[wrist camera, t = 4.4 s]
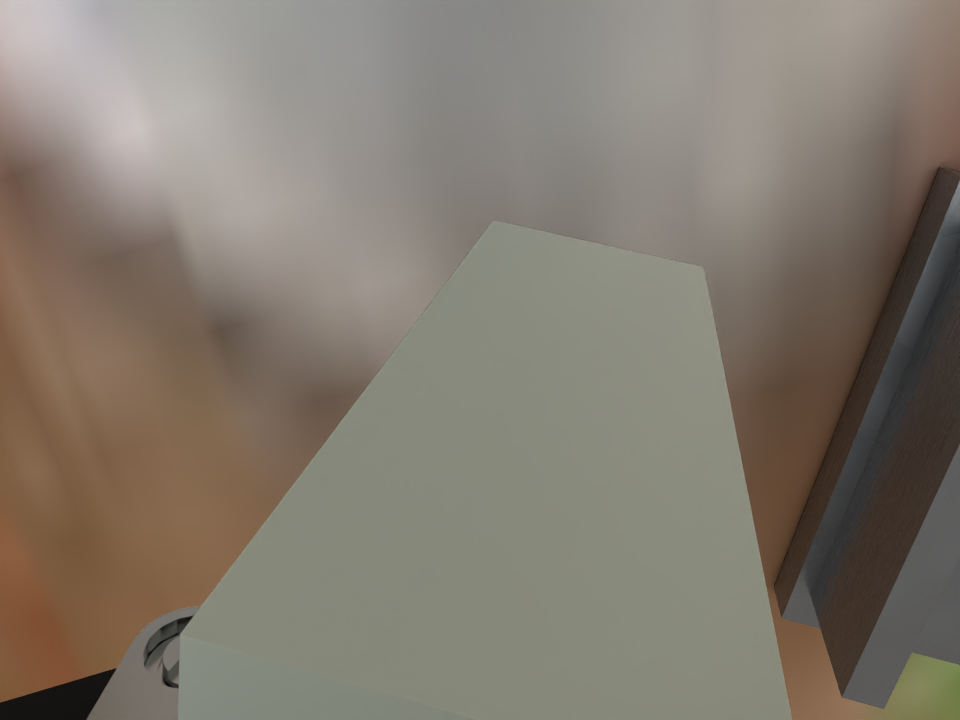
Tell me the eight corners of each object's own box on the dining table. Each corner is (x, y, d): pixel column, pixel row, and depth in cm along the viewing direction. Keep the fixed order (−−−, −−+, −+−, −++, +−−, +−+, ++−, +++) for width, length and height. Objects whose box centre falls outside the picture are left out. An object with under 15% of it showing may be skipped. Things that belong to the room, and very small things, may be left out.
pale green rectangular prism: (493, 219, 14) (179, 634, 5) (703, 267, 13) (809, 815, 4) (423, 594, 17) (163, 1258, 8) (590, 639, 17) (515, 1392, 8)
